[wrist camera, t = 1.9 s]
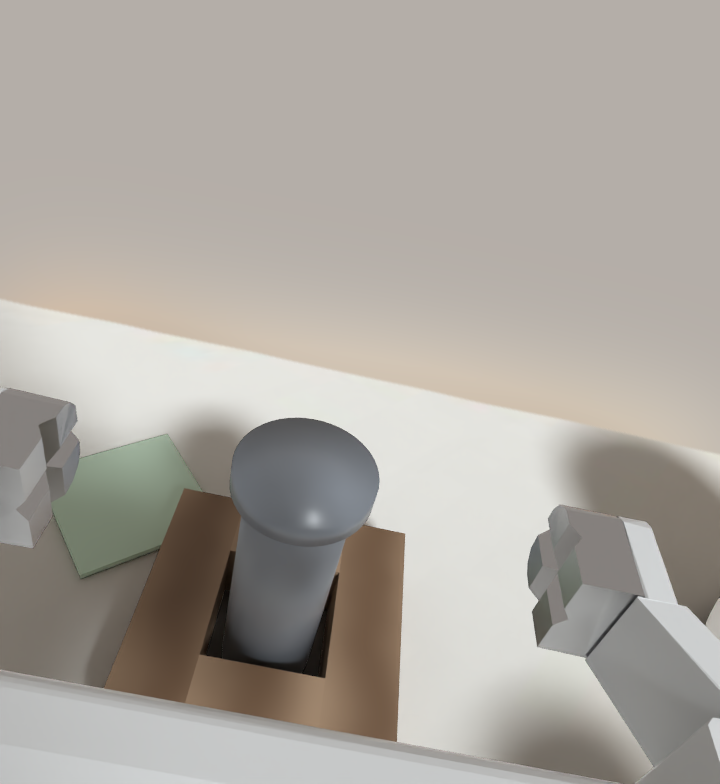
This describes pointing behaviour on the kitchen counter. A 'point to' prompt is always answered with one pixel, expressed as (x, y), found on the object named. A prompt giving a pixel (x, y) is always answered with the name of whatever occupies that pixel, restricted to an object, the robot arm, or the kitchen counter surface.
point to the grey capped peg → (291, 534)
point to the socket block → (257, 683)
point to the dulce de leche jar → (714, 620)
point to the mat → (122, 503)
